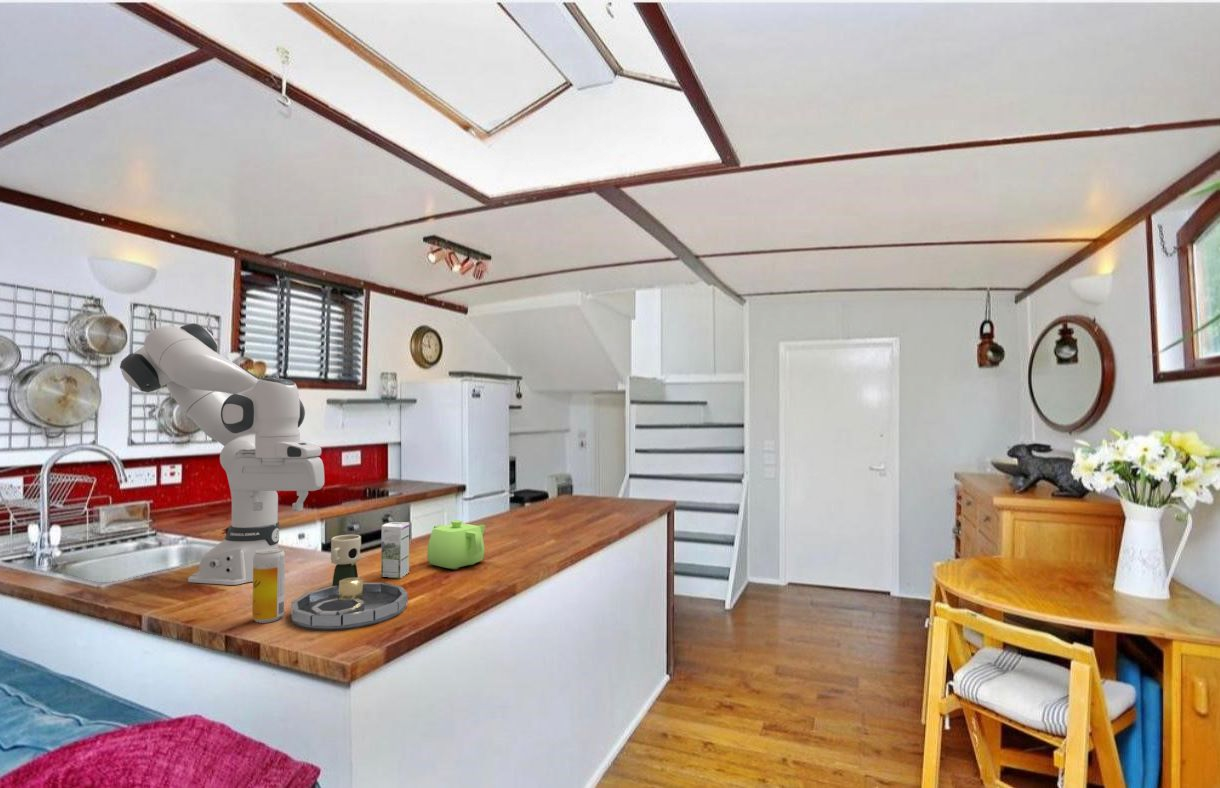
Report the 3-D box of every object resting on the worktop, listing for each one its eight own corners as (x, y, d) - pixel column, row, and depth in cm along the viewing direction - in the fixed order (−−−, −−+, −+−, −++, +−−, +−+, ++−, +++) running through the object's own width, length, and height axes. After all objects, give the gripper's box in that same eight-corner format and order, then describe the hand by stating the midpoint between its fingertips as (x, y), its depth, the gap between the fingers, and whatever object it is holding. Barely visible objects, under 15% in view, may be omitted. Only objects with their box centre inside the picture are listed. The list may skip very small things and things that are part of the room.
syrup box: (409, 573, 169) (410, 521, 169) (400, 579, 163) (400, 525, 164) (390, 572, 170) (390, 521, 170) (380, 578, 164) (380, 525, 164)
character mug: (346, 594, 150) (347, 542, 150) (320, 593, 150) (320, 541, 151) (369, 582, 160) (369, 533, 161) (344, 581, 161) (344, 532, 162)
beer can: (260, 614, 135) (261, 547, 135) (288, 613, 136) (289, 547, 136) (246, 624, 129) (248, 554, 129) (276, 623, 130) (277, 553, 130)
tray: (268, 630, 125) (269, 596, 126) (322, 594, 149) (323, 566, 150) (383, 630, 126) (384, 596, 126) (419, 594, 150) (419, 566, 150)
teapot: (463, 552, 194) (463, 512, 194) (507, 562, 182) (507, 518, 182) (414, 564, 179) (415, 520, 179) (459, 575, 167) (459, 528, 168)
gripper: (223, 450, 133) (223, 513, 133) (312, 449, 132) (312, 513, 131) (243, 448, 139) (242, 508, 139) (328, 448, 138) (328, 508, 138)
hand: (277, 510), depth 135 cm, fingers open, 8 cm apart
